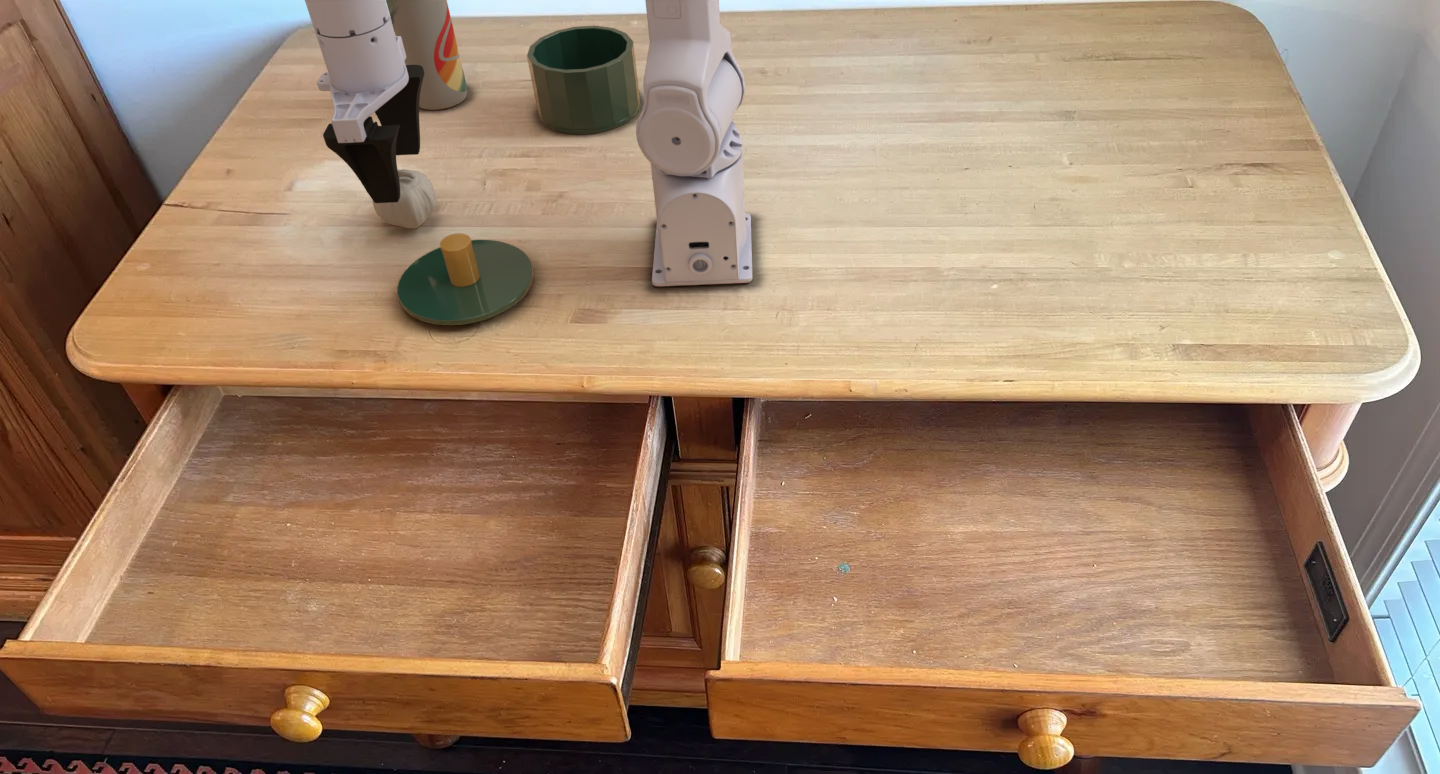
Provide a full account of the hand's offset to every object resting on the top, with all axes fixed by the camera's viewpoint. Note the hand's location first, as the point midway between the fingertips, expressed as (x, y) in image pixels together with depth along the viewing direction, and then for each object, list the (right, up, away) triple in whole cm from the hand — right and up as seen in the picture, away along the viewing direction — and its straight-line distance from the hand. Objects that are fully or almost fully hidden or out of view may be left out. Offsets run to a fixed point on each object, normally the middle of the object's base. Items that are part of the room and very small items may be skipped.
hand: (397, 176), depth 90 cm
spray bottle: (-2, +12, +20) cm, 24 cm away
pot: (+14, +10, +16) cm, 24 cm away
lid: (+7, -10, -5) cm, 13 cm away
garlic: (0, -3, +3) cm, 5 cm away
